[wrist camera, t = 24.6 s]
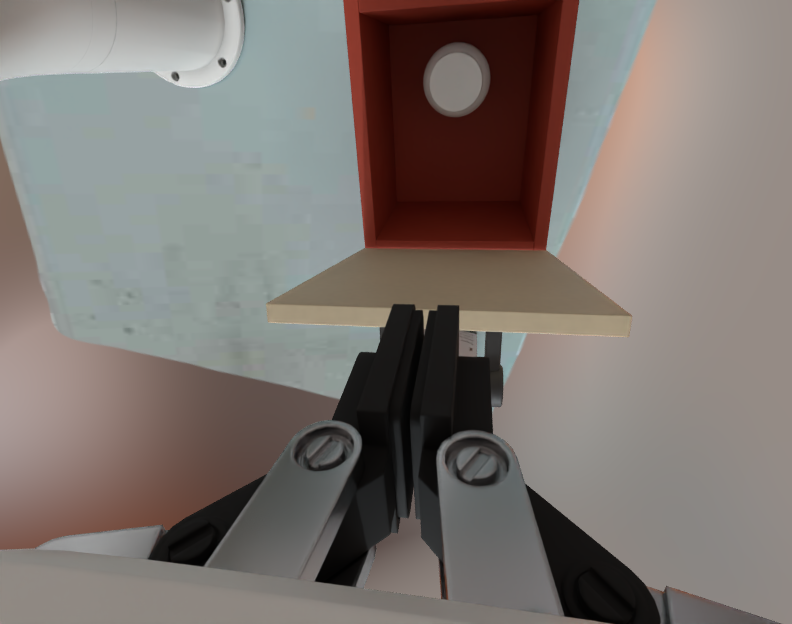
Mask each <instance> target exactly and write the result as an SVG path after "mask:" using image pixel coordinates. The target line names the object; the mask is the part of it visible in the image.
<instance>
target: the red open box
mask: <svg viewBox="0 0 792 624" xmlns="http://www.w3.org/2000/svg"><path fill="white" fill-rule="evenodd" d="M343 1H344V13H345V24H346V35H347V47H348V58H349V69H350V81H351V92H352V103H353V114H354V126H355V137H356V148H357V160H358V171H359V182H360V194H361V205H362V216H363V228H364V239H365V248H378V249H465V250H546V246H547V238H548V231H549V223H550V216H551V208H552V201H553V193H554V186H555V178H556V170H557V163H558V155H559V148H560V140H561V133H562V125H563V118H564V110H565V103H566V95H567V88H568V80H569V73H570V65H571V58H572V50H573V43H574V35H575V28H576V20H577V13H578V5H579V0H343ZM454 42H464V43H468V44H471V45H473V46H474V47H476V48H477V49H479V50H480V51H481V53H482V54H483V55H484V56H485V58H486V60H487V62H488V64H489V69H490V86H489V90H488V93H487V95H486V97H485V99H484V101H483V102H482V103H481V105H480V106H479V107H478V108H477V109H476V110H474V111H473V112H471V113H470V114H468V115H465V116H462V117H448V116H445V115H442V114H440V113H439V112H437V111H436V110H435V109H434V108H433V107H432V106H431V105H430V103H429V102H428V100H427V98H426V95H425V92H424V86H423V77H424V72H425V68H426V66H427V63H428V62H429V60H430V58H431V57H432V56H433V54H434V53H435V52H436V51H437V50H439V49H440V48H441V47H443V46H445V45H447V44H450V43H454Z"/></svg>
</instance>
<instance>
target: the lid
mask: <svg viewBox="0 0 792 624" xmlns="http://www.w3.org/2000/svg"><path fill="white" fill-rule="evenodd" d="M393 304H415V307H416V310H423V316H424V329H426V324H427V319H428V313H429V310H437V306H438V305H459V330H464V331H486V338H485V357H489V361H490V381H491V403H492V407H501V405H502V399H503V368H502V366H501V365H500V358H501V341H502V332H514V333H539V334H540V333H541V334H565V335H589V336H613V337H614V336H615V337H629V333H630V327H631V320H632V315H631V314H629V313H628V312H626V311H625V310H624V309H623V308H621V307H620V306H619V305H617V304H616V303H615V302H614V301H612V300H611V299H610V298H608V297H607V296H606V295H604V294H603V293H602V292H600V291H599V290H598V289H596V288H595V287H594V286H592V285H591V284H590V283H589V282H587V281H586V280H585V279H583V278H582V277H581V276H579V275H578V274H577V273H576V272H574V271H573V270H571V269H570V268H569V267H568V266H566V265H565V264H564V263H562V262H561V261H560V260H559V259H557V258H556V257H555V256H553V255H552V254H551V253H549V252H548V251H547V250H465V249H378V248H364V249H362V250H361V251H359V252H357V253H355V254H353V255H352V256H350V257H348V258H346V259H345V260H343V261H341V262H339V263H337V264H336V265H334V266H332V267H330V268H329V269H327V270H325V271H323V272H321V273H320V274H318V275H316V276H314V277H313V278H311V279H309V280H307V281H305V282H304V283H302V284H300V285H298V286H297V287H295V288H293V289H291V290H289V291H288V292H286V293H284V294H282V295H281V296H279V297H277V298H275V299H273V300H272V301H270V302H268V303H267V304H266V307H267V317H268V322H269V323H291V324H316V325H341V326H365V327H380V340H381V337H382V334H383V331H384V329H385V326H386V323H387V320H388V317H389V314H390V311H391V308H392V306H393Z"/></svg>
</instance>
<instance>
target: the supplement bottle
mask: <svg viewBox="0 0 792 624" xmlns="http://www.w3.org/2000/svg"><path fill="white" fill-rule="evenodd" d="M423 86H424V92H425V95H426V98H427V100H428V102H429V103H430V105H431V106H432V107H433V108H434V109H435V110H436V111H437V112H439V113H440V114H442V115H445V116H448V117H462V116H465V115H468V114H470V113H471V112H473V111H474V110H476V109H477V108H478V107H479V106H480V105H481V103H482V102H483V101H484V99H485V97H486V95H487V93H488V90H489V86H490V69H489V64H488V62H487V60H486V58H485V56H484V55H483V54H482V53H481V51H480V50H479V49H477V48H476V47H474V46H473V45H471V44H468V43H464V42H454V43H450V44H447V45H445V46H443V47H441V48H440V49H439V50H437V51H436V52H435V53H434V54H433V56H432V57H431V58H430V60H429V62H428V63H427V66H426V68H425V72H424V77H423Z"/></svg>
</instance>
